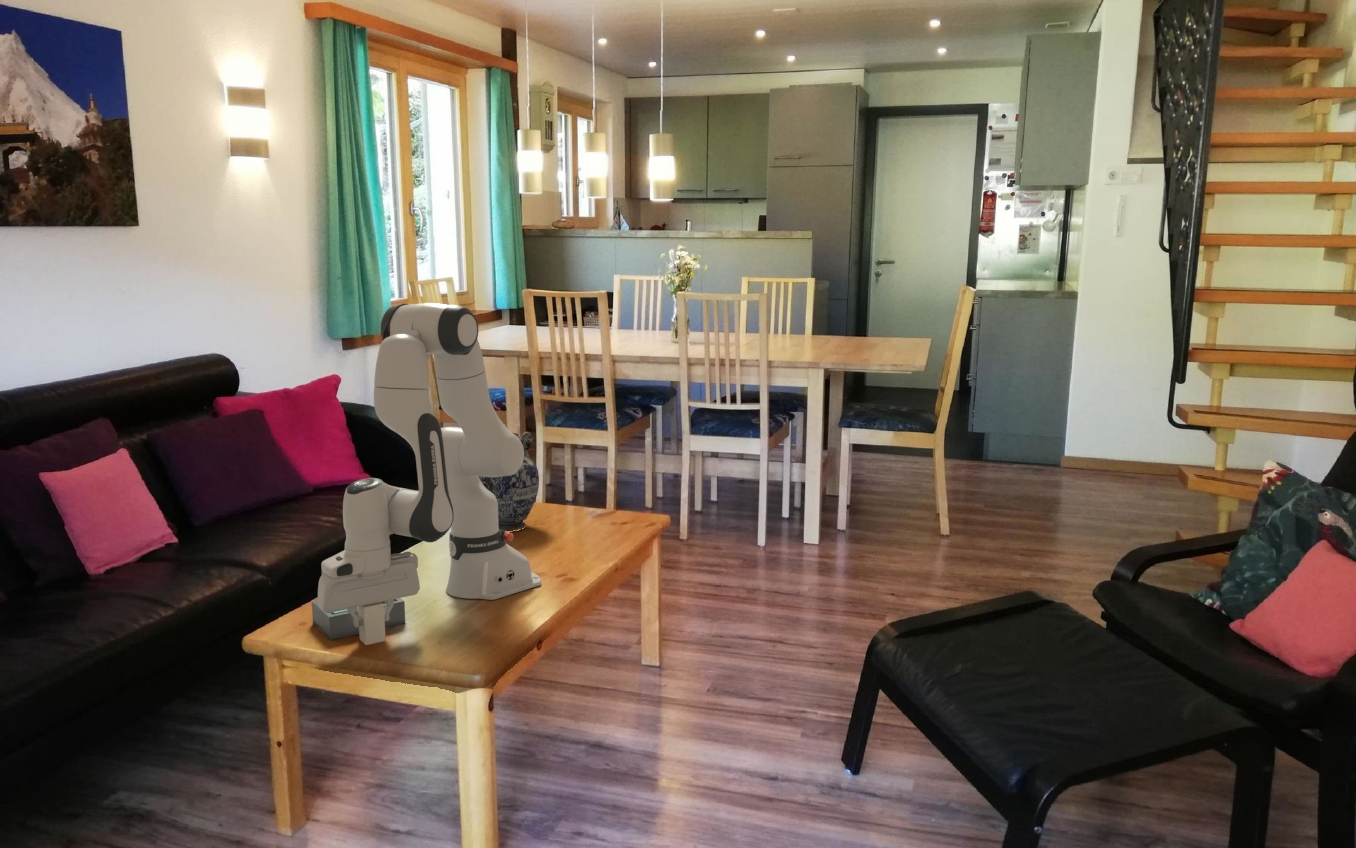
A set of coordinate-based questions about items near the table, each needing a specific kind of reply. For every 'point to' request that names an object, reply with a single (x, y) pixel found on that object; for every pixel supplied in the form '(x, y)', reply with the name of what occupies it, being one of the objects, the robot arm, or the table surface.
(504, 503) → the decorative vase
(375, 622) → the plug
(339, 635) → the organiser box
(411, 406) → the robot arm
